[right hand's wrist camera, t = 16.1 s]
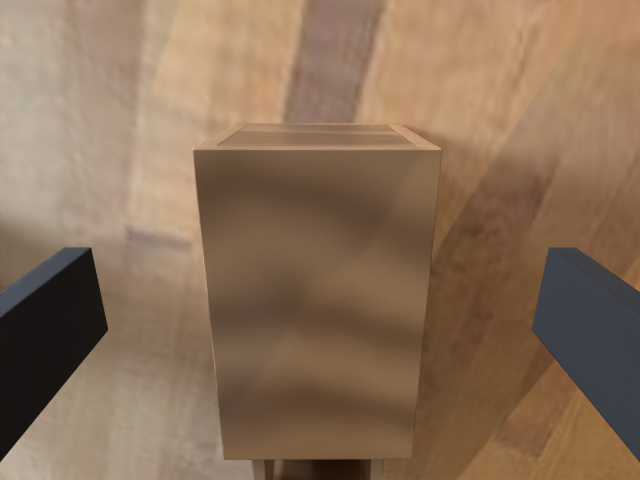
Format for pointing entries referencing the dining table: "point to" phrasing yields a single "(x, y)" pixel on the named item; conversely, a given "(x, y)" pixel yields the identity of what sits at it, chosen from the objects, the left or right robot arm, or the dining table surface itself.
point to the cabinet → (317, 285)
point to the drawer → (318, 469)
